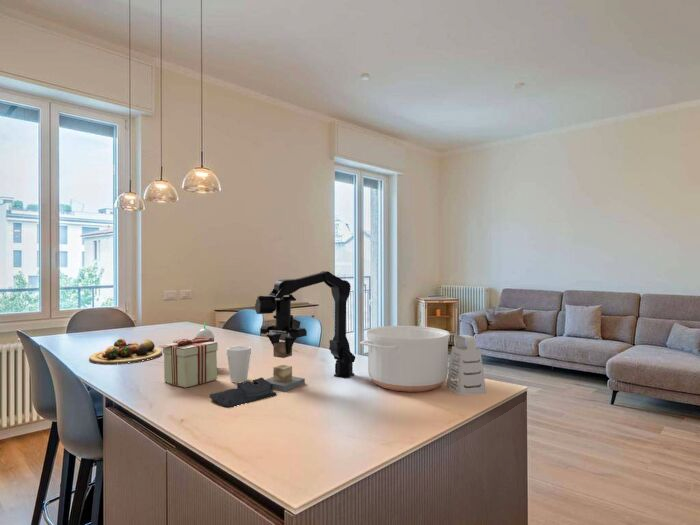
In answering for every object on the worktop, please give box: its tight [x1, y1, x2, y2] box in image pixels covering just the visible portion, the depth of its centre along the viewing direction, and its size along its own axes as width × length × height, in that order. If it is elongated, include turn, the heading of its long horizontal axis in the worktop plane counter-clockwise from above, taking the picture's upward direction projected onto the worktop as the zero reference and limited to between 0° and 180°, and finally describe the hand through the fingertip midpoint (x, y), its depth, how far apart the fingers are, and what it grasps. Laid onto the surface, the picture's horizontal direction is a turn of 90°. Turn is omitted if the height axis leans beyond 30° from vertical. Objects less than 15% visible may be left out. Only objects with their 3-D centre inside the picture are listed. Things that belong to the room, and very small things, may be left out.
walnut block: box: [273, 341, 293, 359], centre depth 166 cm, size 5×5×5 cm
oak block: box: [272, 364, 293, 382], centre depth 166 cm, size 5×5×5 cm
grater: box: [445, 334, 487, 396], centre depth 160 cm, size 10×10×20 cm
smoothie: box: [194, 322, 215, 342], centre depth 193 cm, size 8×8×20 cm
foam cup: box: [226, 345, 252, 383], centre depth 172 cm, size 10×9×13 cm
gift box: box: [158, 336, 219, 389], centre depth 171 cm, size 17×18×17 cm
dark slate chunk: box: [209, 377, 277, 408], centre depth 152 cm, size 15×22×5 cm
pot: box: [359, 325, 451, 393], centre depth 168 cm, size 42×32×20 cm
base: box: [265, 375, 306, 393], centre depth 166 cm, size 12×12×2 cm
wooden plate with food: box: [88, 338, 163, 365], centre depth 214 cm, size 32×32×8 cm
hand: (282, 353), depth 166 cm, fingers closed on walnut block, 5 cm apart
